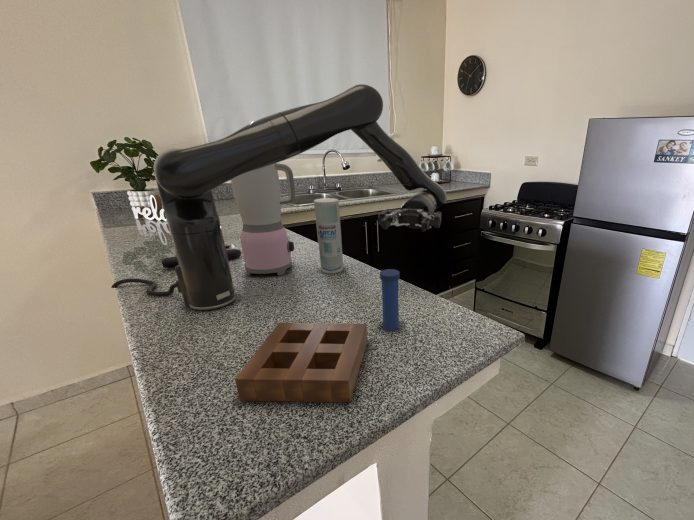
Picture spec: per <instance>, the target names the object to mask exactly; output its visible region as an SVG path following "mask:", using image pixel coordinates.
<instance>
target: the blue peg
mask: <svg viewBox="0 0 694 520" xmlns="http://www.w3.org/2000/svg"><path fill="white" fill-rule="evenodd" d="M400 276H401V273H400V271H399V270H397V269H395V268H387V269H383V270H381V271H380V272H379V280H380V281H381V299H382V300H381V303H382V327H383V329H384V330H385V331H390V332H391V331H396V330H398V329H399V327H400V314H399V313H400V312H399V311H400V309H399V305H400V304H399V280H400V278H401V277H400Z"/></svg>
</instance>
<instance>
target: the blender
mask: <svg viewBox="0 0 694 520" xmlns="http://www.w3.org/2000/svg"><path fill="white" fill-rule="evenodd" d="M278 171H282V172H283V173H285V176H286V184H287V193H288V196H286V197H282V192H281V184H280V177H279V172H278ZM230 183H231V188H232V193H233V199H234V202H235V204H236V207H237V210H238V213H239V216H240V218H241V222H242V230H241V232H240V245H241V252H242V255H243V261H244V269H245V272H246V275H247V276H252V274H257V275H265V274H266V275H267V274H274V273H276V276H283V275H285V274H286V270H287V269H289V268H291V267H292V265H293V260H292V254H291V252H294V251H295V244H294V241H291V240H290V238H289V237H290V236H289V233H288V232H287V230H286V227H285V226H284V224H283V222H282V205H287V204H292V203H293V202H295V200H296V188H295V186H296V185H295V180H294V173H293V170H292V168H291V167H290V166H289V165H288V164H284V163H279V162H278V163H275V164H272V165H269V166H266V167H263V168H260V169H257V170H253V171H250V172H247V173H244V174H241V175H239V176H237V177H235V178H233V179H231V180H230Z"/></svg>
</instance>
